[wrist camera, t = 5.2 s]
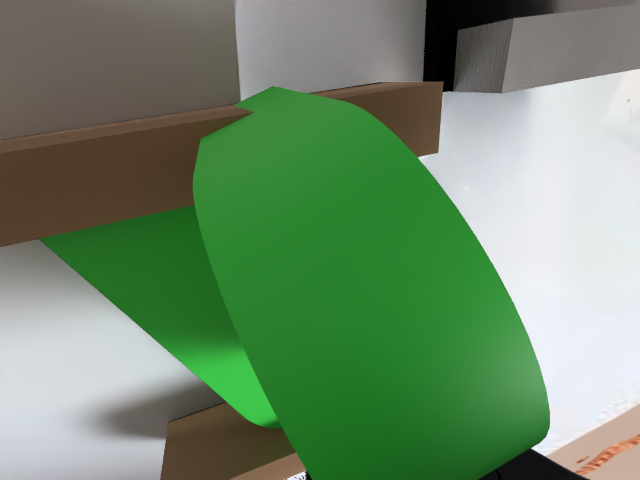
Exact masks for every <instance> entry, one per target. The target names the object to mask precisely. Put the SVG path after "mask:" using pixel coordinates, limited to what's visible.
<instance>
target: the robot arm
mask: <svg viewBox="0 0 640 480" xmlns="http://www.w3.org/2000/svg"><path fill="white" fill-rule="evenodd" d="M306 480H312V478H311V477H310V475H309V473H308V472H307V470H306ZM478 480H590V479H587V478H585V477H583V476H580V475H578V474H576V473H574V472H572V471H570V470H568V469H566V468H564V467H563V466H561V465H559V464H557V463H555V462H554V461H552V460H550V459H549V458H547V457H545V456H543V455H542V454H540V453H538V452H536V451H535V450H533V449H531V448H530V449H528V450H527V451H525V452H523V453H522V454H520V455H518V456H517V457H515V458H513V459H512V460H510V461H508V462H507V463H505V464H503V465H502V466H500V467H498V468H497V469H495V470H493V471H491V472H490V473H488V474H486V475H485V476H483V477H481V478H480V479H478Z"/></svg>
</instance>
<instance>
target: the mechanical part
mask: <svg viewBox="0 0 640 480" xmlns="http://www.w3.org/2000/svg"><path fill="white" fill-rule="evenodd" d="M234 106H237V107H241V108H244V109H247V110H250V111H253V112H254V113H252V114H250V115H248V116H246V117H244V118H242V119H240V120H238V121H236V122H234V123H232V124H229V125H227V126H225V127H223V128H221V129H219V130H217V131H215V132H213V133H211V134H209V135H207V136H205V137H203V138H201V139H200V145H199V150H198V155H197V160H196V165H195V170H194V175H193V197H194V203H195V205H193V206H188V207H184V208H179V209H174V210H170V211H165V212H160V213H156V214H151V215H147V216H142V217H137V218H133V219H128V220H123V221H119V222H114V223H109V224H105V225H100V226H96V227H91V228H86V229H82V230H77V231H72V232H68V233H63V234H58V235H54V236H49V237H44V238H40V240H41V241H42V242H43V243H44V244H45V245H46V246H48V247H49V248H50V249H51V250H52V251H53V252H54V253H56V254H57V255H58V256H59V257H60V258H61V259H63V260H64V261H65V262H66V263H67V264H68V265H69V266H71V267H72V268H73V269H74V270H75V271H76V272H78V273H79V274H80V275H81V276H82V277H83V278H84V279H86V280H87V281H88V282H89V283H90V284H91V285H93V286H94V287H95V288H96V289H97V290H98V291H99V292H101V293H102V294H103V295H104V296H105V297H106V298H108V299H109V300H110V301H111V302H112V303H113V304H114V305H116V306H117V307H118V308H119V309H120V310H121V311H123V312H124V313H125V314H126V315H127V316H128V317H129V318H131V319H132V320H133V321H134V322H135V323H136V324H138V325H139V326H140V327H141V328H142V329H143V330H144V331H146V332H147V333H148V334H149V335H150V336H151V337H153V338H154V339H155V340H156V341H157V342H158V343H159V344H161V345H162V346H163V347H164V348H165V349H166V350H168V351H169V352H170V353H171V354H172V355H173V356H174V357H176V358H177V359H178V360H179V361H180V362H181V363H183V364H184V365H185V366H186V367H187V368H188V369H189V370H191V371H192V372H193V373H194V374H195V375H196V376H198V377H199V378H200V379H201V380H202V381H203V382H204V383H206V384H207V385H208V386H209V387H210V388H211V389H213V390H214V391H215V392H216V393H217V394H218V395H219V396H221V397H222V398H223V399H224V400H225V401H226V402H228V403H229V404H230V405H231V406H232V407H233V408H234V409H236V410H237V411H238V412H239V413H240V414H241V415H243V416H244V417H245V418H246V419H248V420H249V421H251V422H253V423H254V424H257V425H259V426H263V427H267V428H272V429H279V428H283V430H284V432H285V434H286V436H287V437H288V439H289V441H290V443H291V444H292V446H293V448H294V450H295V451H296V453H297V455H298V457H299V458H300V460H301V462H302V464H303V465H304V467H305V469H306V470H307V472H308V473H309V475H310V477H311V478H312V480H478V479H480V478H481V477H483V476H485V475H486V474H488V473H490V472H491V471H493V470H495V469H497V468H498V467H500V466H502V465H503V464H505V463H507V462H508V461H510V460H512V459H513V458H515V457H517V456H518V455H520V454H522V453H523V452H525V451H527V450H528V449H530V448H532V447H534V446H535V445H537V444H539V443H540V442H541V441H542V440H543V439H544V438H545V437H546V435H547V432H548V430H549V427H550V410H549V404H548V398H547V392H546V387H545V384H544V380H543V377H542V373H541V370H540V366H539V363H538V360H537V358H536V355H535V352H534V350H533V347H532V344H531V342H530V339H529V336H528V334H527V332H526V330H525V327H524V325H523V323H522V321H521V319H520V316H519V314H518V312H517V310H516V308H515V305H514V303H513V301H512V299H511V298H510V296H509V294H508V292H507V290H506V288H505V286H504V284H503V282H502V280H501V278H500V277H499V275H498V273H497V271H496V269H495V268H494V266H493V264H492V262H491V261H490V259H489V257H488V256H487V254H486V252H485V251H484V249H483V247H482V246H481V244H480V242H479V241H478V239H477V237H476V236H475V234H474V233H473V231H472V230H471V228H470V227H469V225H468V224H467V222H466V221H465V219H464V218H463V216H462V215H461V213H460V212H459V210H458V209H457V207H456V206H455V205H454V203H453V202H452V201H451V199H450V198H449V197H448V195H447V194H446V193H445V191H444V190H443V189H442V187H441V186H440V185H439V183H438V182H437V180H436V179H435V178H434V177H433V176H432V174H431V173H430V172H429V171H428V170H427V168H426V167H425V166H424V165H423V164H422V163H421V161H420V160H419V159H418V158H417V157H416V155H415V154H414V153H413V152H412V151H411V150H410V149H409V148H408V147H407V146H406V145H405V144H404V143H403V142H402V141H401V140H400V139H399V138H398V137H397V136H396V135H395V134H394V133H393V132H392V131H391V130H390V129H388V128H387V127H386V126H385V125H384V124H383V123H382V122H381V121H379V120H378V119H376V118H375V117H374V116H372V115H371V114H370V113H368V112H367V111H365V110H363V109H362V108H360V107H358V106H356V105H354V104H351V103H348V102H345V101H340V100H336V99H331V98H327V97H322V96H317V95H313V94H308V93H303V92H299V91H294V90H289V89H285V88H280V87H275V86H272V87H270V88H268V89H266V90H264V91H262V92H260V93H258V94H255V95H253V96H251V97H249V98H247V99H245V100H243V101H241V102H239V103H237V104H235V105H234Z"/></svg>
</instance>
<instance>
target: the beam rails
mask: <svg viewBox="0 0 640 480" xmlns="http://www.w3.org/2000/svg"><path fill="white" fill-rule="evenodd" d="M308 94H313V95H317V96H322V97H327V98H331V99H336V100H340V101H345V102H348V103H351V104H354V105H356V106H358V107H360V108H362V109H363V110H365V111H367V112H368V113H370V114H371V115H372V116H374V117H375V118H376V119H378V120H379V121H381V122H382V123H383V124H384V125H385V126H386V127H387V128H388V129H390V130H391V131H392V132H393V133H394V134H395V135H396V136H397V137H398V138H399V139H400V140H401V141H402V142H403V143H404V144H405V145H406V146H407V147H408V148H409V149H410V150H411V151H412V152H413V153H414V154H415V155H416V157H420V156H425V155H429V154H434V153H438V148H439V135H440V121H441V108H442V95H443V82H377V83H370V84H364V85H357V86H351V87H344V88H338V89H331V90H325V91H318V92H312V93H308ZM234 105H235V104H234ZM234 105H227V106H221V107H214V108H208V109H201V110H195V111H189V112H182V113H176V114H169V115H163V116H156V117H150V118H143V119H137V120H130V121H124V122H117V123H111V124H104V125H98V126H91V127H85V128H78V129H72V130H65V131H59V132H52V133H46V134H39V135H33V136H26V137H20V138H13V139H7V140H0V247H3V246H7V245H12V244H17V243H21V242H26V241H31V240H35V239H40V238H44V237H49V236H54V235H58V234H63V233H68V232H72V231H77V230H82V229H86V228H91V227H96V226H100V225H105V224H109V223H114V222H119V221H123V220H128V219H133V218H137V217H142V216H147V215H151V214H156V213H160V212H165V211H170V210H174V209H179V208H184V207H188V206H193V205H195V203H194V197H193V175H194V170H195V165H196V160H197V155H198V150H199V145H200V139H201V138H203V137H205V136H207V135H209V134H211V133H213V132H215V131H217V130H219V129H221V128H223V127H225V126H227V125H229V124H232V123H234V122H236V121H238V120H240V119H242V118H244V117H246V116H248V115H250V114H252V113H254V112H253V111H250V110H247V109H244V108H241V107H237V106H234ZM304 471H306V469H305V467H304V465H303V464H302V462H301V460H300V458H299V457H298V455H297V453H296V451H295V450H294V448H293V446H292V444H291V443H290V441H289V439H288V437H287V436H286V434H285V432H284V430H283V428H279V429H272V428H267V427H263V426H259V425H257V424H254V423H253V422H251V421H249V420H248V419H246V418H245V417H244V416H243V415H241V414H240V413H239V412H238V411H237V410H236V409H234V408H233V407H232V406H231V405H230V404H229V403H228V402H226V403H223V404H220V405H218V406H215V407H212V408H209V409H206V410H203V411H201V412H198V413H195V414H192V415H189V416H186V417H183V418H181V419H178V420H175V421H172V422H169V423H168V429H167V437H166V444H165V451H164V458H163V465H162V472H161V479H160V480H284V479H287V478H289V477H292V476H294V475H296V474H299V473H301V472H304Z"/></svg>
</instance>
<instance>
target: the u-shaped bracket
mask: <svg viewBox="0 0 640 480" xmlns="http://www.w3.org/2000/svg"><path fill="white" fill-rule="evenodd" d="M635 69H640V0H426V16H425V39H424V62H423V82H443V92H448V91H451V92H480V93H506V92H511V91H517V90H523V89H528V88H534V87H539V86H545V85H551V84H556V83H562V82H567V81H573V80H579V79H584V78H590V77H595V76H601V75H607V74H612V73H618V72H623V71H629V70H635Z"/></svg>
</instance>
